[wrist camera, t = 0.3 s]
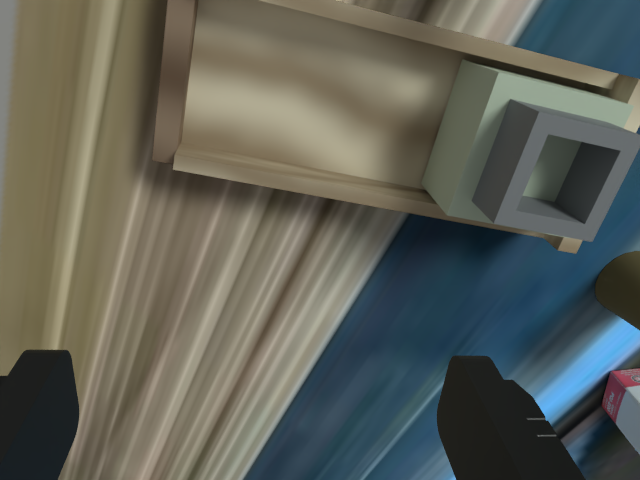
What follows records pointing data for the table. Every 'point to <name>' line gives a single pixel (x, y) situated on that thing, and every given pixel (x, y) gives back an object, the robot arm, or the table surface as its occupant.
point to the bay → (329, 98)
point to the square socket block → (529, 153)
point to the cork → (621, 287)
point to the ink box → (624, 403)
